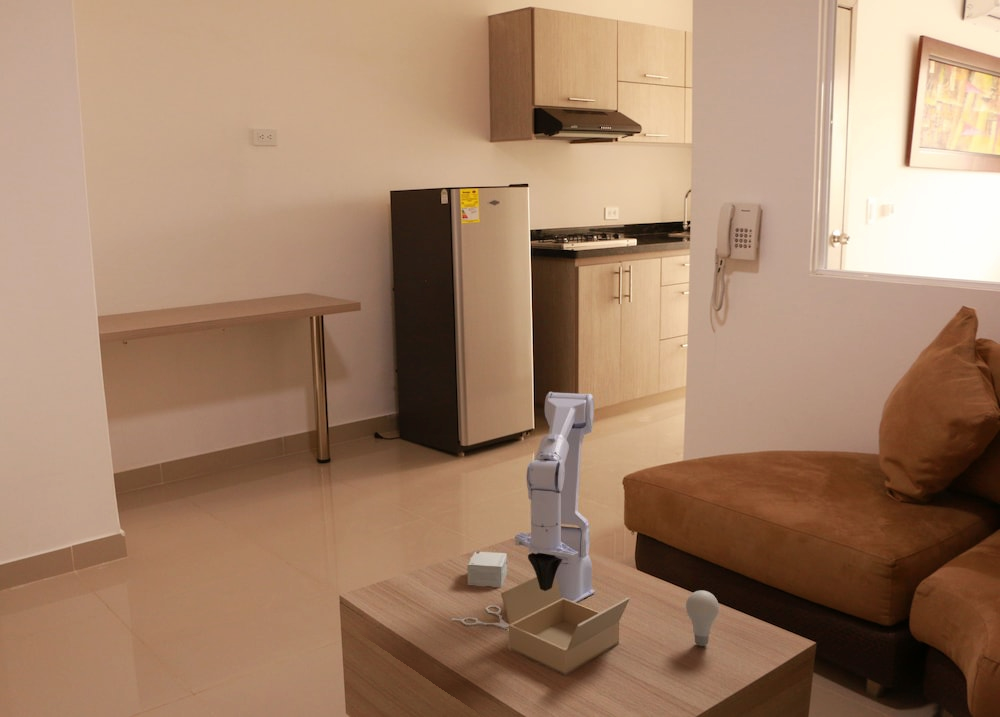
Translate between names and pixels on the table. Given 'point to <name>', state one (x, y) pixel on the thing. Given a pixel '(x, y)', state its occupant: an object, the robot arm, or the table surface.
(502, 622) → the scissors
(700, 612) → the lightbulb
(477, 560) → the small box
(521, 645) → the carton
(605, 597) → the table surface
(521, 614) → the flap
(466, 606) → the table surface
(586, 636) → the flap
